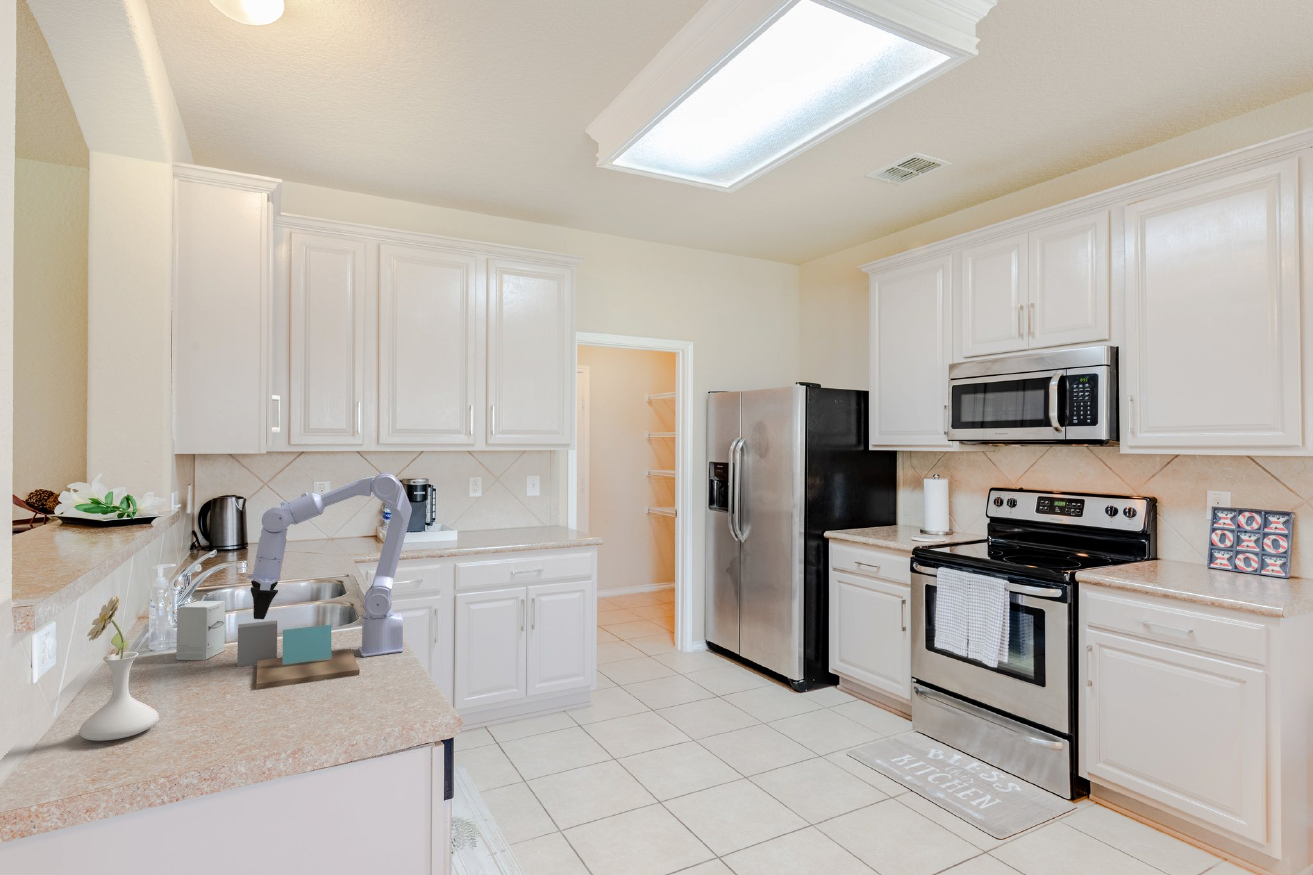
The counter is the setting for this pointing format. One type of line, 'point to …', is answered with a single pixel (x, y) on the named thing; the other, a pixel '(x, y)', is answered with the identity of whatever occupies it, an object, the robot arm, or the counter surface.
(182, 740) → the counter surface
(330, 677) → the board
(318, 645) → the tile
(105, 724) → the flower in vase
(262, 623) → the grey rectangular block
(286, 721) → the counter surface
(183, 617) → the supplement box
